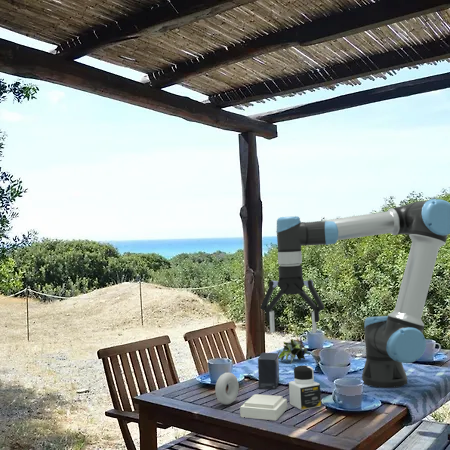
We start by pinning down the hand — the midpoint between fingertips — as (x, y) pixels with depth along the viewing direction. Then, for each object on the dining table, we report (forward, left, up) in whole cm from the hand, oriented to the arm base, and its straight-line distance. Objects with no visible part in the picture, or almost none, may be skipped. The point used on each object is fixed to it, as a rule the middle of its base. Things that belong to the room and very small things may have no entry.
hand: (293, 332), depth 173 cm
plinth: (+7, +12, -22) cm, 26 cm away
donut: (+21, +7, -22) cm, 31 cm away
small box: (+15, -17, -22) cm, 32 cm away
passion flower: (+16, -52, -22) cm, 59 cm away
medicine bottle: (-3, +2, -22) cm, 23 cm away
